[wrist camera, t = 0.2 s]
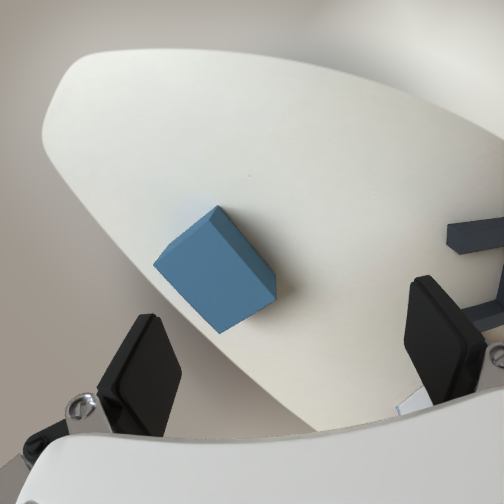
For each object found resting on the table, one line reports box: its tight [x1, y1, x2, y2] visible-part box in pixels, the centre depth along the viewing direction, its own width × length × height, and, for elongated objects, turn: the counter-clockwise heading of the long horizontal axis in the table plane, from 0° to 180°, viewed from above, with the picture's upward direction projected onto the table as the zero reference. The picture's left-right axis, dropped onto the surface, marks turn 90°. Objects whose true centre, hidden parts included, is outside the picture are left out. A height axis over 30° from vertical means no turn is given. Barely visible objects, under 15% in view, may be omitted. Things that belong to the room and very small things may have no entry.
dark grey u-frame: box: [446, 217, 504, 333], centre depth 23 cm, size 12×14×2 cm
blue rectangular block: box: [153, 206, 276, 334], centre depth 24 cm, size 6×8×4 cm
